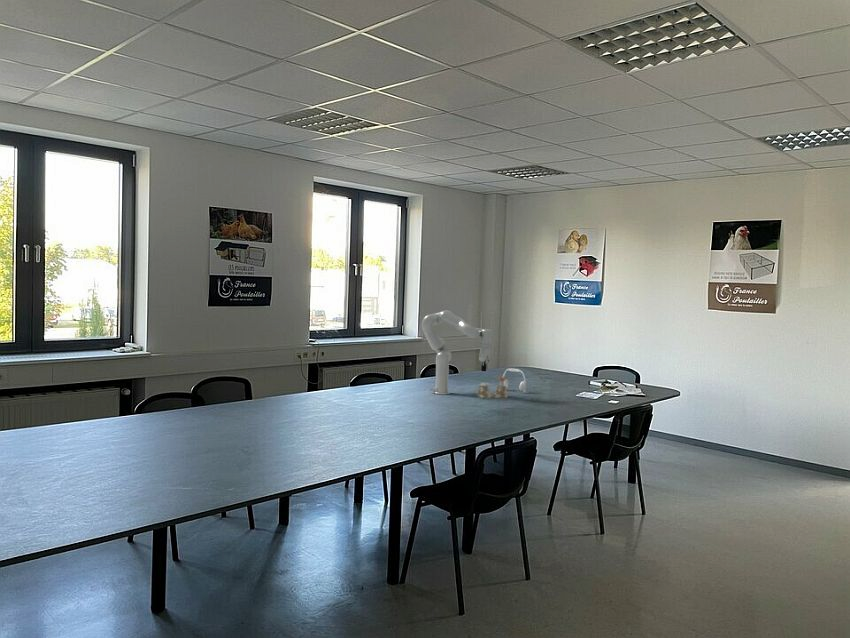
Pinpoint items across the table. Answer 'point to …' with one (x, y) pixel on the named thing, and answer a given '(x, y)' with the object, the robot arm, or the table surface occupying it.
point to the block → (484, 393)
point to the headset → (522, 384)
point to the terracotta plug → (501, 381)
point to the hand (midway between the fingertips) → (483, 371)
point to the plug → (483, 384)
